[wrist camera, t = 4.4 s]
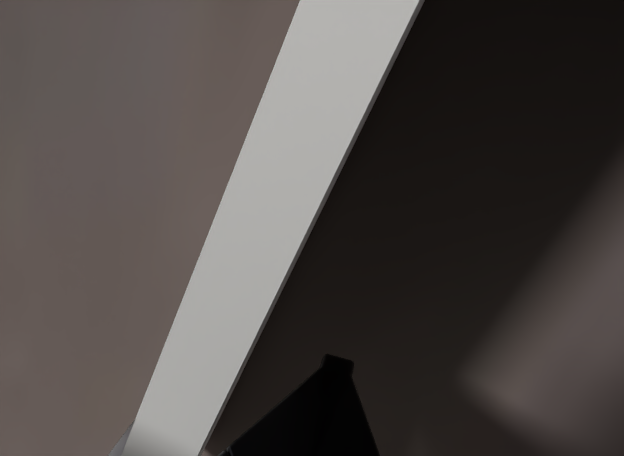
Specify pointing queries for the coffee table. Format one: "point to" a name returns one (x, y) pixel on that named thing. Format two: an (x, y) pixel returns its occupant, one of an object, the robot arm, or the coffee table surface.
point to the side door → (268, 212)
